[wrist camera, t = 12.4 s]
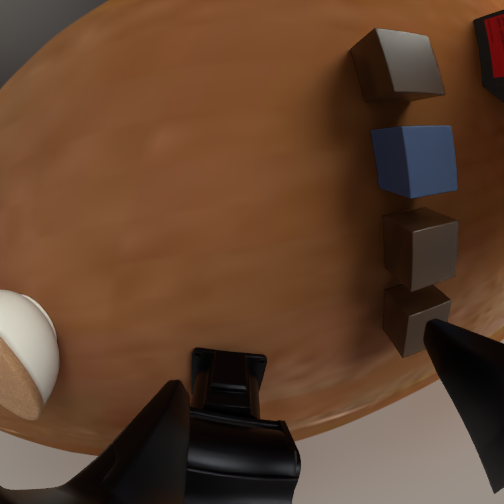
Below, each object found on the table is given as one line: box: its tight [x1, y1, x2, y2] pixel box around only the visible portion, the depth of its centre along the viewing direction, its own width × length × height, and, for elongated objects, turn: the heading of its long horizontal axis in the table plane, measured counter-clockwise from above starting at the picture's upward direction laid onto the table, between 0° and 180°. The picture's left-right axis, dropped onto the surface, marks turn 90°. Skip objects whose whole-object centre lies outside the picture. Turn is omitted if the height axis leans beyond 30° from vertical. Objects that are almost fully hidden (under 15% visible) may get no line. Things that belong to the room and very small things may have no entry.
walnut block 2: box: [382, 207, 459, 292], centre depth 18 cm, size 4×4×4 cm
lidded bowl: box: [0, 290, 59, 420], centre depth 17 cm, size 13×13×11 cm
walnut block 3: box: [383, 284, 451, 358], centre depth 20 cm, size 4×4×4 cm
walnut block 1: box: [350, 28, 445, 102], centre depth 13 cm, size 4×4×4 cm
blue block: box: [371, 125, 458, 199], centre depth 15 cm, size 4×4×4 cm
